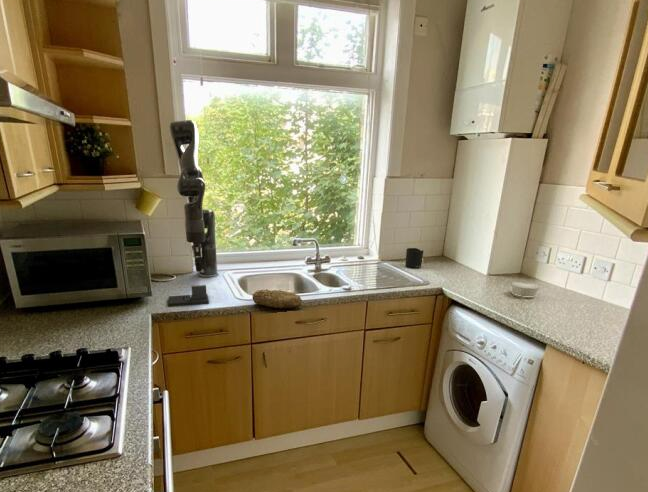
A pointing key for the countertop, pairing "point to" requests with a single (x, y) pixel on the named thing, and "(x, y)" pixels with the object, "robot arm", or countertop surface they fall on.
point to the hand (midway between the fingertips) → (198, 268)
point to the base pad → (178, 300)
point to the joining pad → (197, 301)
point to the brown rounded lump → (277, 299)
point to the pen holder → (414, 258)
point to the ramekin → (524, 289)
